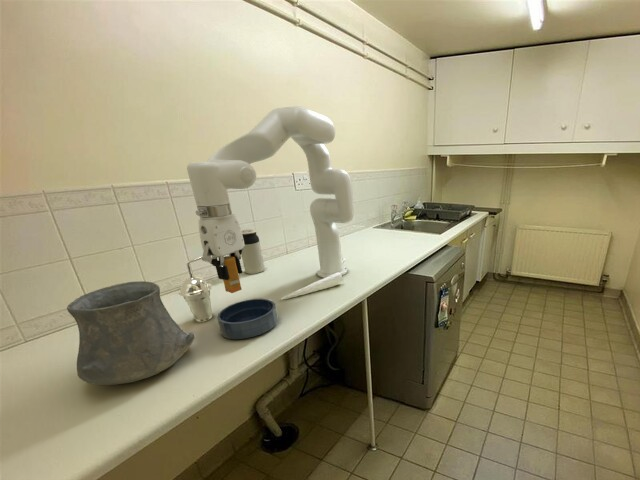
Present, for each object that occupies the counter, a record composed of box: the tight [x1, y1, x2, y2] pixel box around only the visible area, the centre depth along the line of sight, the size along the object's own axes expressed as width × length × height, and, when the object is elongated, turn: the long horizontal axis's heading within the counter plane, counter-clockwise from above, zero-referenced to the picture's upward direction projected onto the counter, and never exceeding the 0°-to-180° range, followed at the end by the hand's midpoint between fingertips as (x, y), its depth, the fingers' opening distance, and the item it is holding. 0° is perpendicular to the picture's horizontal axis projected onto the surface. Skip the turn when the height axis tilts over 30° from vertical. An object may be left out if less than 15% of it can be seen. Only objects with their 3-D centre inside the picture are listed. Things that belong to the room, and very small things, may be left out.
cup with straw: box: [178, 255, 213, 323], centre depth 95 cm, size 8×9×20 cm
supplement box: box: [222, 255, 242, 294], centre depth 88 cm, size 3×3×10 cm
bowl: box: [216, 298, 279, 340], centre depth 92 cm, size 15×15×6 cm
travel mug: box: [241, 228, 266, 275], centre depth 134 cm, size 8×8×18 cm
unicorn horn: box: [280, 272, 344, 301], centre depth 115 cm, size 5×24×5 cm, turn 126°
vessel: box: [66, 280, 195, 386], centre depth 72 cm, size 22×22×20 cm
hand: (230, 275), depth 88 cm, fingers closed on supplement box, 4 cm apart
